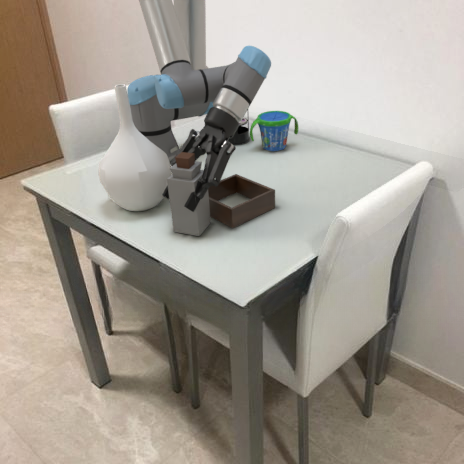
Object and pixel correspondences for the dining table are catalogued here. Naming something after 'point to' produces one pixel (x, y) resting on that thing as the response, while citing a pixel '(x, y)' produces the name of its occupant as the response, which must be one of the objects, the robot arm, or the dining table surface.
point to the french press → (241, 133)
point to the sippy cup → (274, 129)
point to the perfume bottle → (187, 196)
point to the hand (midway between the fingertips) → (177, 203)
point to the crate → (235, 216)
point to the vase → (133, 164)
